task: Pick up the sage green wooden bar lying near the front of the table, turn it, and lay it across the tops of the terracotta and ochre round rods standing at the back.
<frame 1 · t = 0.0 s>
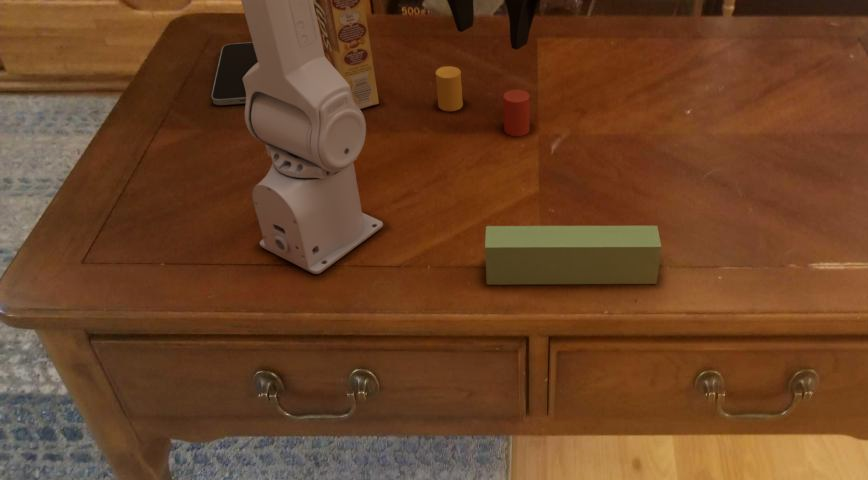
hand: (491, 36, 95), 10 cm above the table, tool pointing down, fingers open, 7 cm apart
bar: (571, 273, 80), on the table
candy box: (350, 95, 106), on the table
smartphone: (248, 76, 109), on the table
rods: (483, 117, 102), on the table
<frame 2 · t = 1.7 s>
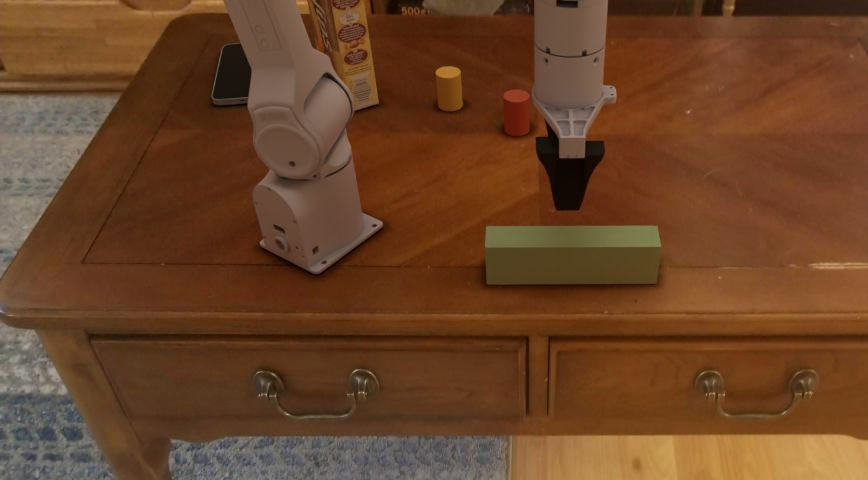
hand: (565, 183, 77), 9 cm above the table, tool pointing down, fingers open, 7 cm apart
nothing on the table moved.
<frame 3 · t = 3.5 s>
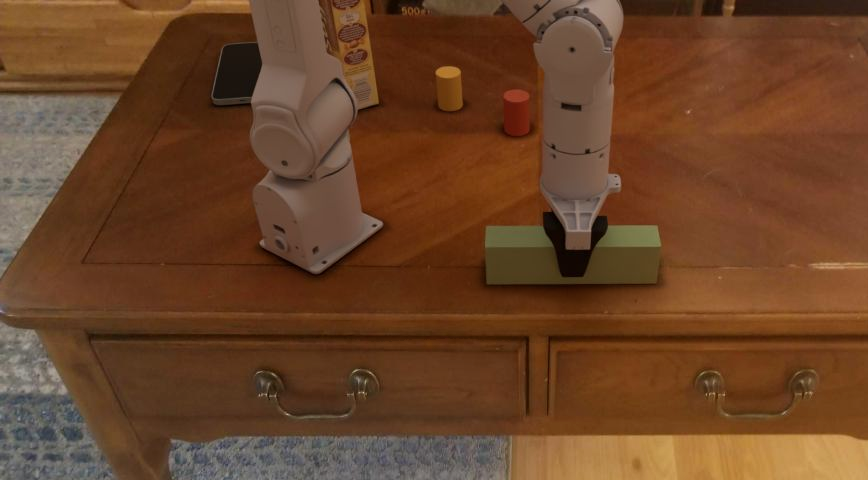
hand: (571, 262, 79), 1 cm above the table, tool pointing down, fingers closed on bar, 3 cm apart
bar: (571, 273, 80), on the table, touching gripper
everything else where it was.
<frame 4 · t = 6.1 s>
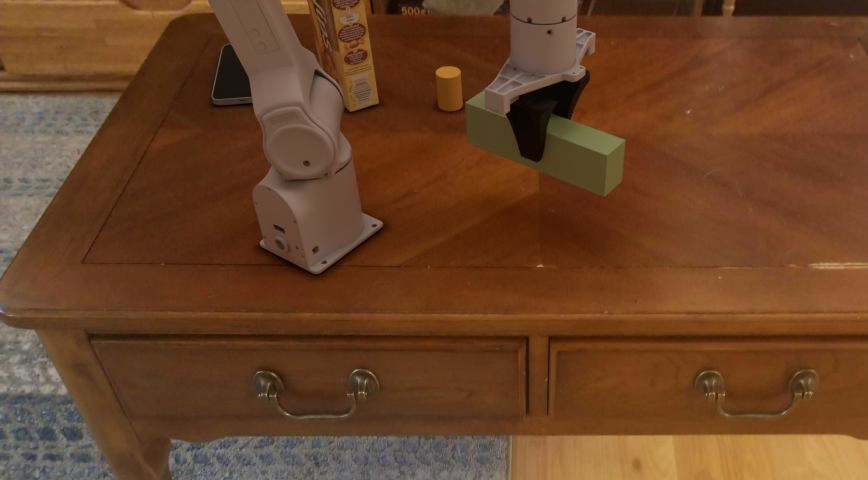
hand: (542, 149, 81), 9 cm above the table, tool pointing down, fingers closed on bar, 3 cm apart
bar: (542, 161, 82), point 7 cm above the table, touching gripper
everything else where it was.
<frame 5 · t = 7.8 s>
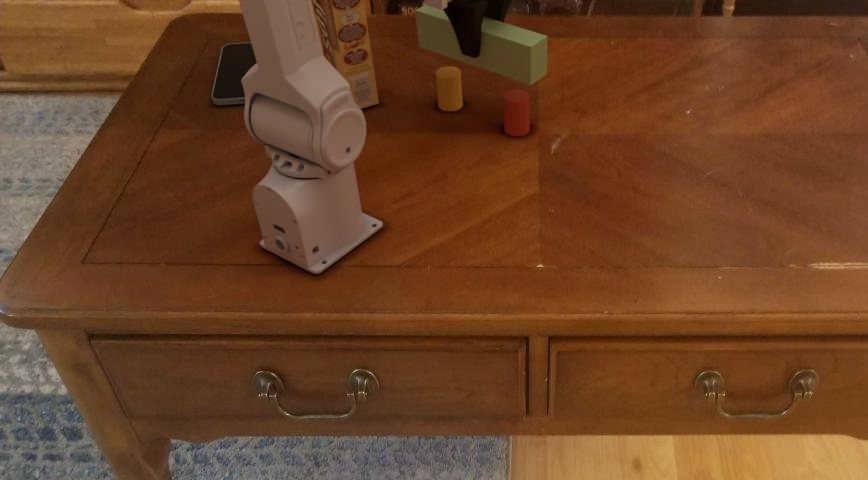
hand: (480, 48, 96), 9 cm above the table, tool pointing down, fingers closed on bar, 3 cm apart
bar: (481, 60, 97), point 7 cm above the table, touching gripper
everything else where it was.
when the fingers open (6 cm above the table, at t = 9.0 s): bar stays where it is, resting on rods.
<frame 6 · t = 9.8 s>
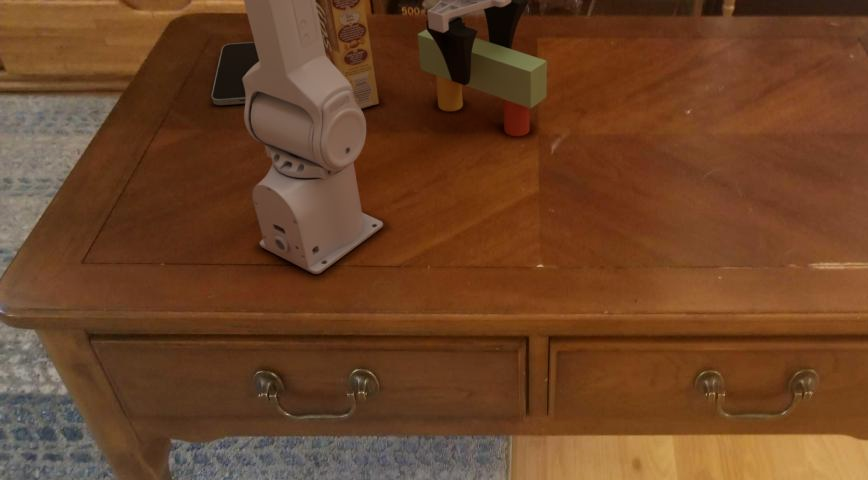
hand: (480, 68, 97), 6 cm above the table, tool pointing down, fingers open, 7 cm apart
bar: (482, 83, 99), point 4 cm above the table, touching rods
everything else where it was.
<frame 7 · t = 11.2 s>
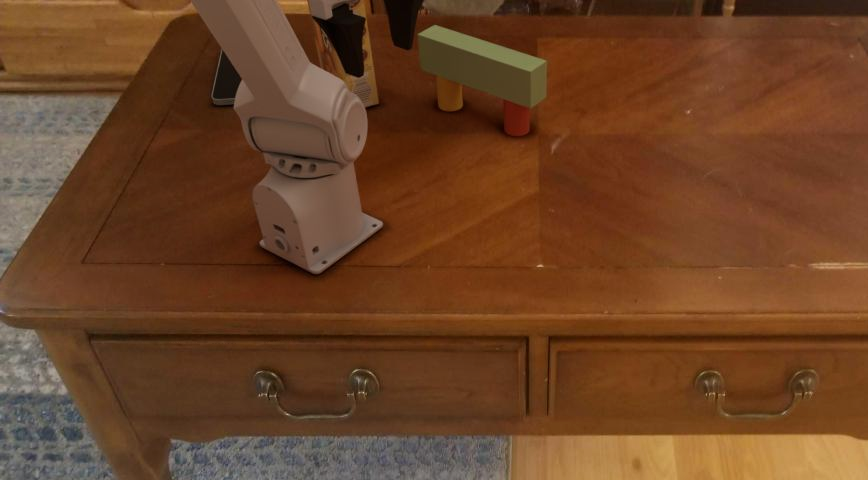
hand: (379, 60, 90), 10 cm above the table, tool pointing down, fingers open, 7 cm apart
nothing on the table moved.
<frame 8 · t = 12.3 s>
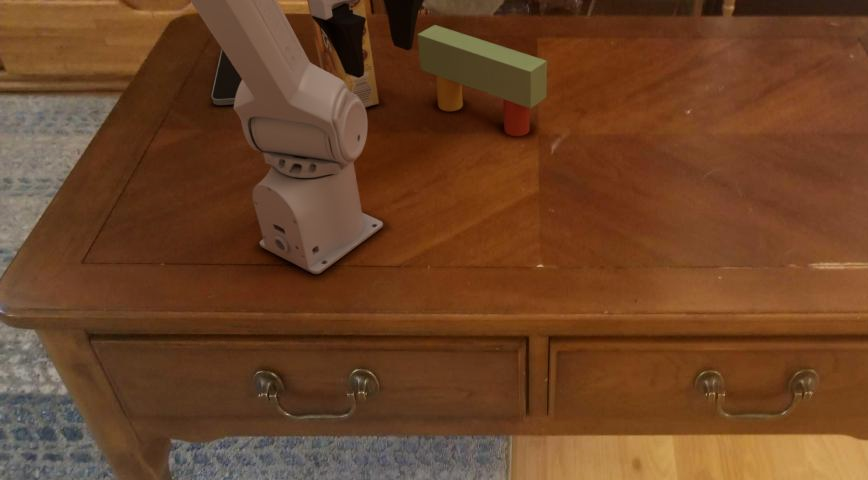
hand: (379, 60, 90), 10 cm above the table, tool pointing down, fingers open, 7 cm apart
nothing on the table moved.
at the end: bar 0.1 cm off-centre on the rods, point 4.5 cm above the rods's base; bar tilted 0°; the gripper is holding nothing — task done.
